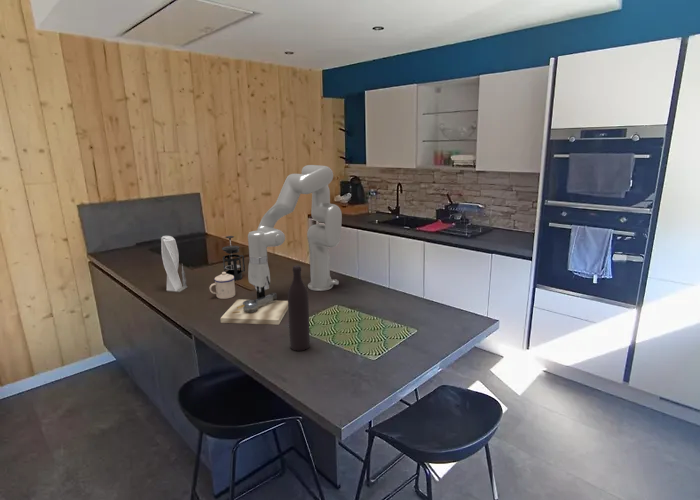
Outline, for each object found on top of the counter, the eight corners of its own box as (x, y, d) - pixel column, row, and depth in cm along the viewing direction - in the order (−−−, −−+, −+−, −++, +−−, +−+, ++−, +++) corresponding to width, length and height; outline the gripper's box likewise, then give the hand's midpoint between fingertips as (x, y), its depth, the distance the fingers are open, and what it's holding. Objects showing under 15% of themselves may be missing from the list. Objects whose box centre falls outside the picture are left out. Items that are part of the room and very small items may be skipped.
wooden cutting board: (290, 305, 183) (289, 299, 183) (279, 324, 164) (278, 318, 164) (237, 303, 185) (237, 297, 185) (220, 322, 166) (220, 316, 165)
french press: (226, 282, 212) (222, 239, 206) (220, 277, 220) (216, 236, 214) (248, 278, 219) (245, 236, 213) (241, 273, 226) (238, 233, 220)
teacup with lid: (230, 290, 201) (228, 268, 198) (239, 296, 194) (237, 272, 191) (206, 296, 194) (204, 273, 190) (214, 302, 187) (212, 278, 184)
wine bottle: (310, 341, 150) (307, 263, 142) (309, 351, 144) (306, 269, 136) (291, 341, 150) (287, 263, 142) (289, 351, 143) (285, 269, 135)
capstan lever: (242, 315, 166) (241, 308, 165) (233, 311, 169) (233, 305, 169) (280, 300, 181) (280, 294, 180) (271, 297, 184) (271, 291, 184)
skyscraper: (177, 293, 198) (170, 236, 191) (162, 292, 200) (155, 236, 192) (187, 287, 206) (181, 232, 199) (173, 286, 208) (166, 232, 200)
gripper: (240, 258, 179) (243, 297, 183) (262, 264, 169) (265, 306, 174) (254, 254, 184) (257, 293, 189) (276, 260, 175) (278, 300, 180)
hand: (261, 299), depth 181 cm, fingers closed
